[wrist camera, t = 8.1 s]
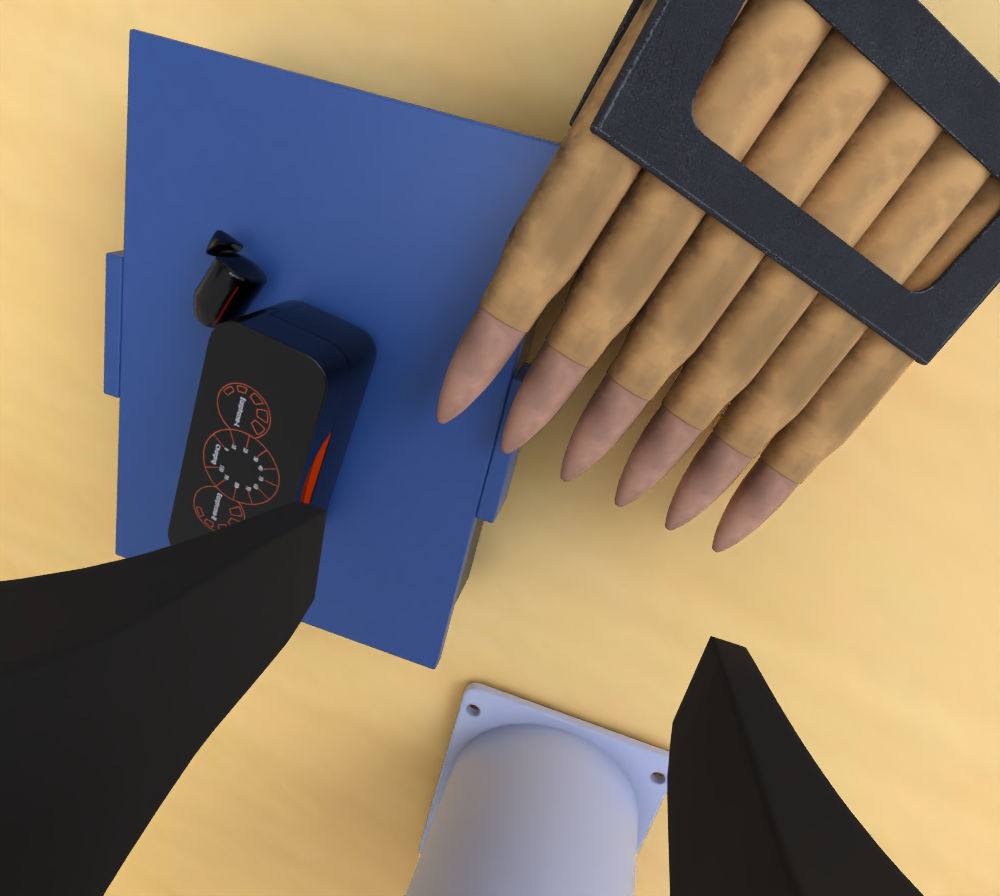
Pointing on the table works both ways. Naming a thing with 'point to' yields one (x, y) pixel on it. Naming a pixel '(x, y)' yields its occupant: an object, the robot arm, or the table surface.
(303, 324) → the wireless earbuds
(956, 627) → the table surface
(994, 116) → the ammunition clip
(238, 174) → the container
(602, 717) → the table surface
